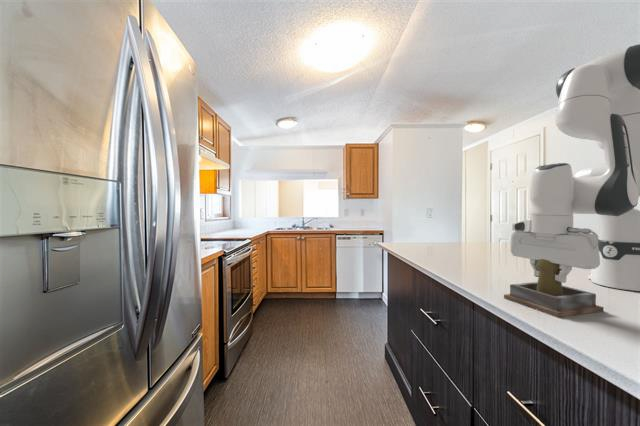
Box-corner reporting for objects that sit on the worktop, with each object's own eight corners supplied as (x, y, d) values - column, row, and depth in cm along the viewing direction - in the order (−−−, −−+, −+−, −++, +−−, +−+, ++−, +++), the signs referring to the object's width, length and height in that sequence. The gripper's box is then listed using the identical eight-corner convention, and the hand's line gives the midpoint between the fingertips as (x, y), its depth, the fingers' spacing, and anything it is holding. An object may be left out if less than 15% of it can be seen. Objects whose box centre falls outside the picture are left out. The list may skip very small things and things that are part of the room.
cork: (554, 296, 78) (554, 256, 77) (570, 304, 72) (570, 260, 71) (530, 296, 79) (529, 256, 78) (544, 304, 73) (544, 260, 72)
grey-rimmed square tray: (544, 293, 84) (544, 280, 84) (603, 311, 70) (603, 294, 70) (503, 298, 80) (504, 283, 80) (558, 317, 66) (558, 300, 66)
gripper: (608, 229, 65) (606, 289, 66) (523, 223, 85) (523, 270, 85) (587, 229, 64) (586, 291, 64) (506, 224, 84) (505, 271, 84)
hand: (549, 279), depth 75 cm, fingers closed on cork, 4 cm apart
